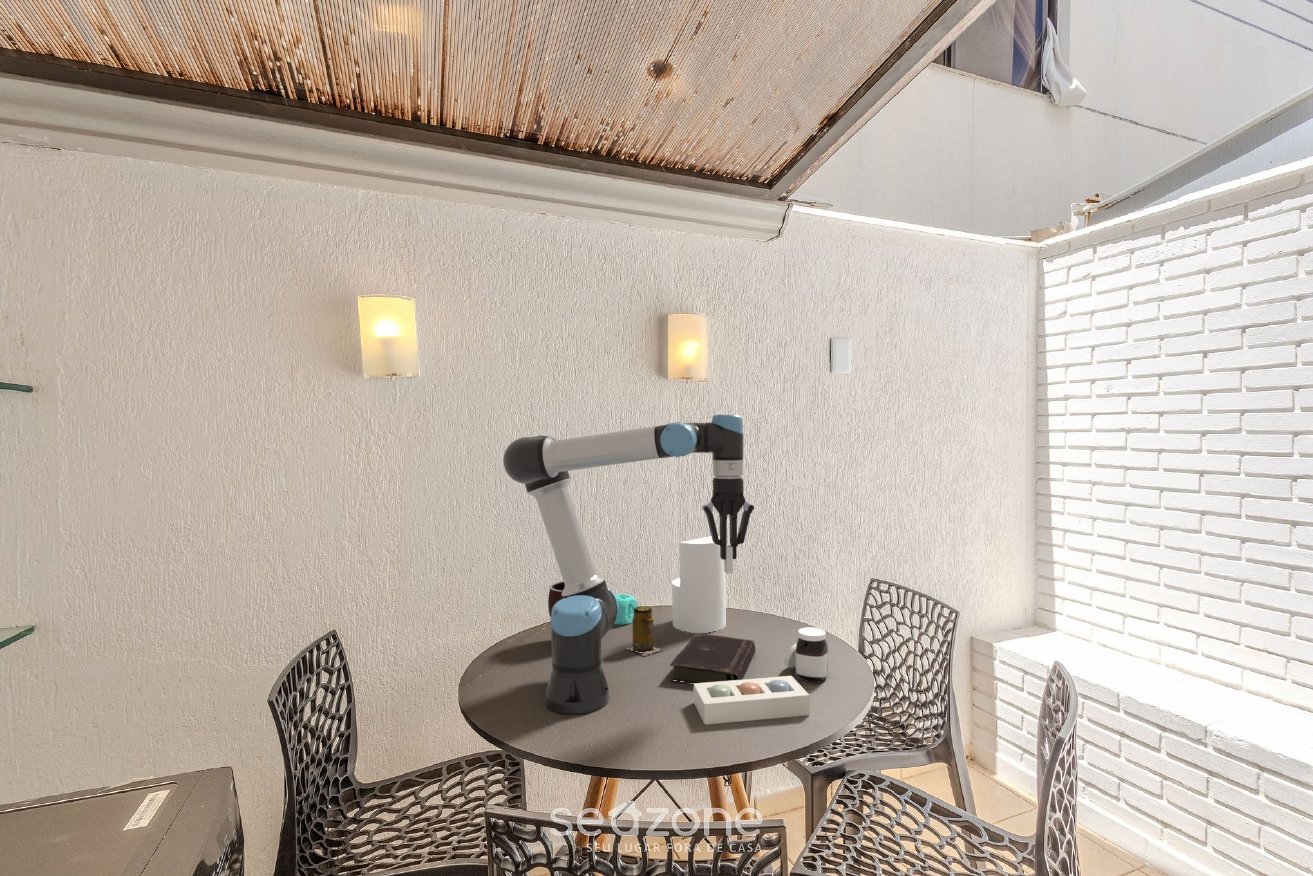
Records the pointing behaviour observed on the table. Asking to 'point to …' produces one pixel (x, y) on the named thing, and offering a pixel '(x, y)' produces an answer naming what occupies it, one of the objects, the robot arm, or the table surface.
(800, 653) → the spread jar
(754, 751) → the table surface
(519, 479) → the robot arm
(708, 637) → the diary
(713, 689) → the sage button
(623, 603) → the decorative dice
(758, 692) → the terracotta button
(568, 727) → the table surface
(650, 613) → the condiment
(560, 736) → the table surface
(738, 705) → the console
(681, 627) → the cylinder
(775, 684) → the slate button
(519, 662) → the table surface
